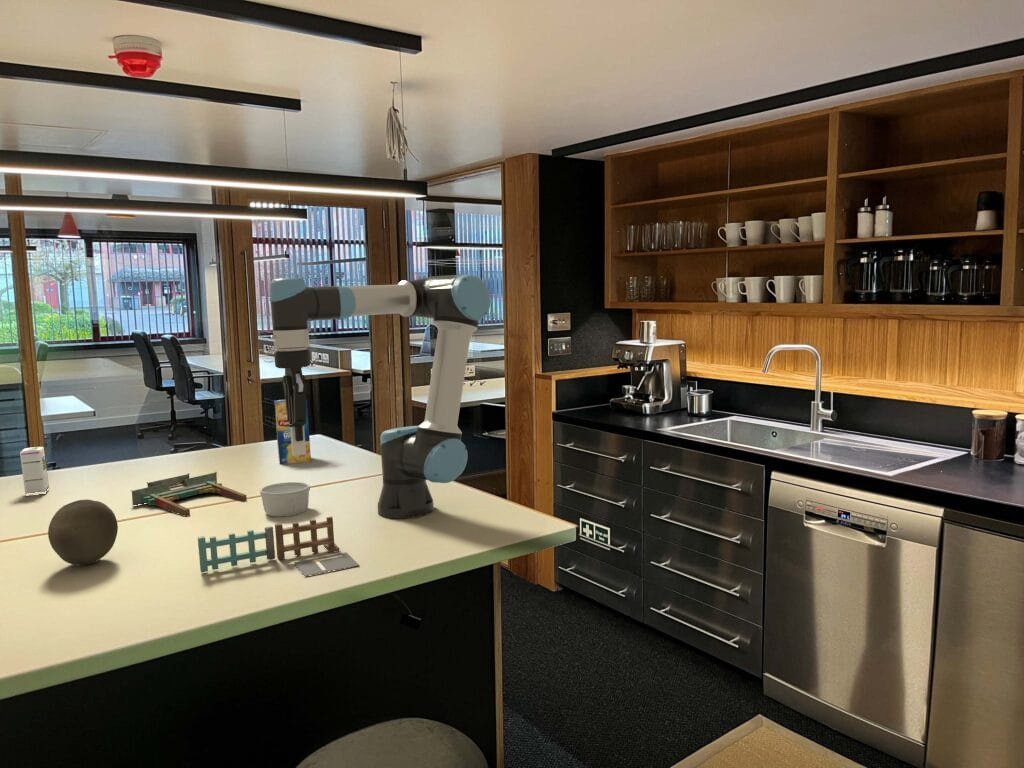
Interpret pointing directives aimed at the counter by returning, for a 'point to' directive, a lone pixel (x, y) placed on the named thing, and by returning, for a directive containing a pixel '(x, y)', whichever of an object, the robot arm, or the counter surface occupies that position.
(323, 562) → the card
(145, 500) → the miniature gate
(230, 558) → the fence
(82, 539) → the dark brown ball
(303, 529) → the fence
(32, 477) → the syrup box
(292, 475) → the counter surface
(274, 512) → the ramekin
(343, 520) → the counter surface
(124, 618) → the counter surface
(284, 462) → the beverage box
